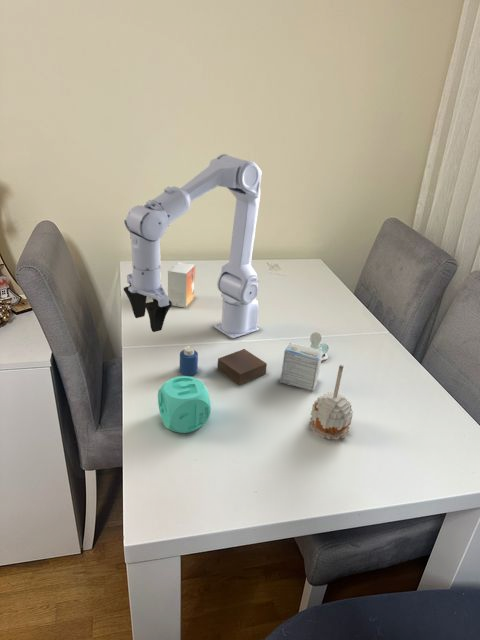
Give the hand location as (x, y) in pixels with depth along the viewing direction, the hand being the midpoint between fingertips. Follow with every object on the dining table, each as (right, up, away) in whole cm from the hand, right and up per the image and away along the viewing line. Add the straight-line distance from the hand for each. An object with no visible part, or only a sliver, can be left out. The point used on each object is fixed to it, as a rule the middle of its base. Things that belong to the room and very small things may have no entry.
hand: (148, 323), depth 109 cm
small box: (+2, +8, +35) cm, 36 cm away
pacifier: (+39, -8, +14) cm, 42 cm away
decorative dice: (+10, -20, -12) cm, 25 cm away
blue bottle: (+9, -11, +3) cm, 14 cm away
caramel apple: (+39, -22, -10) cm, 46 cm away
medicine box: (+34, -14, +3) cm, 37 cm away
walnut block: (+21, -11, +5) cm, 24 cm away
